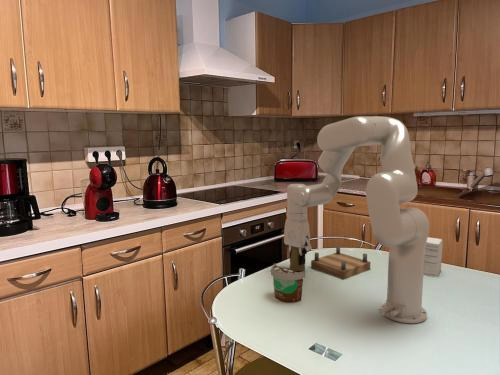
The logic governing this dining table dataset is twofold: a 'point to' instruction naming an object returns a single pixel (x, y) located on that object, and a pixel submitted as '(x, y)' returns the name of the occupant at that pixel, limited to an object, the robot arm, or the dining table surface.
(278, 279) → the food container
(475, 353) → the dining table surface
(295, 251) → the brown rounded piece
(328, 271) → the shelf board
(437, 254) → the supplement box
